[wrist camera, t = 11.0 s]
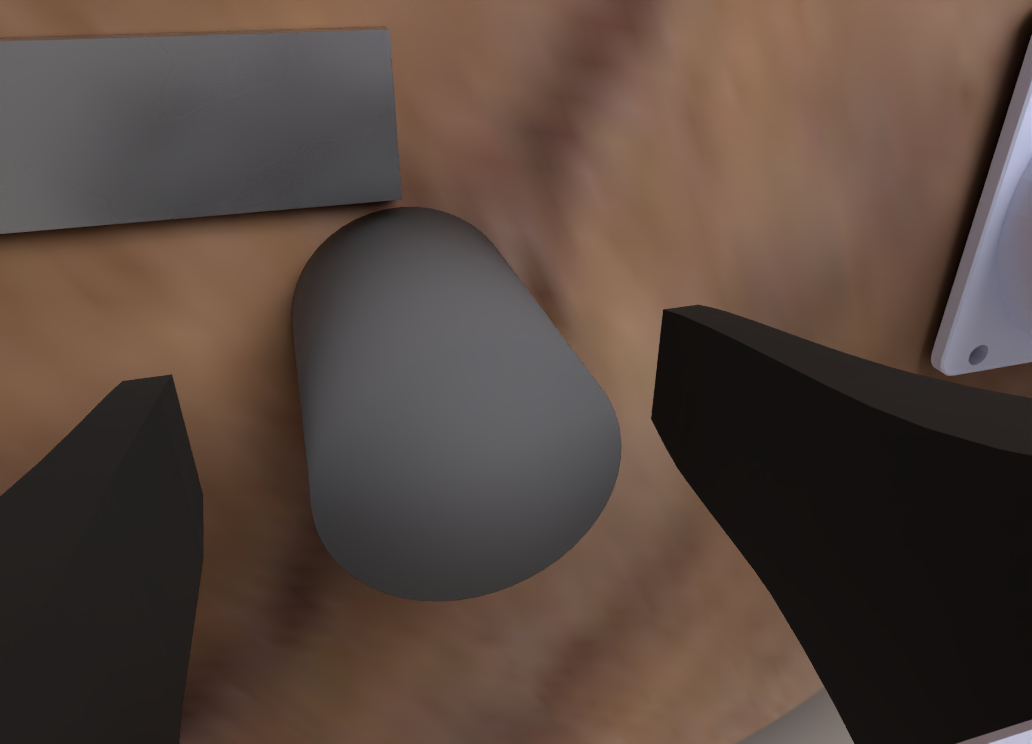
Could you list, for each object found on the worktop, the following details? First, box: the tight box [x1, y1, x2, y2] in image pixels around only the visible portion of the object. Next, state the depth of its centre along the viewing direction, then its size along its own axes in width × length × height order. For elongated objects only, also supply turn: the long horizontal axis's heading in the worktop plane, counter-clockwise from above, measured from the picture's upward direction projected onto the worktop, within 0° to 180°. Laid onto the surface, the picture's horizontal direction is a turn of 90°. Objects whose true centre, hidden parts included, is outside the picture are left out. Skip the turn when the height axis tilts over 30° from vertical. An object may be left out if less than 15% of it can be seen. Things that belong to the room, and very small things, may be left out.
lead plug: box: [292, 207, 621, 601], centre depth 12 cm, size 4×4×5 cm
